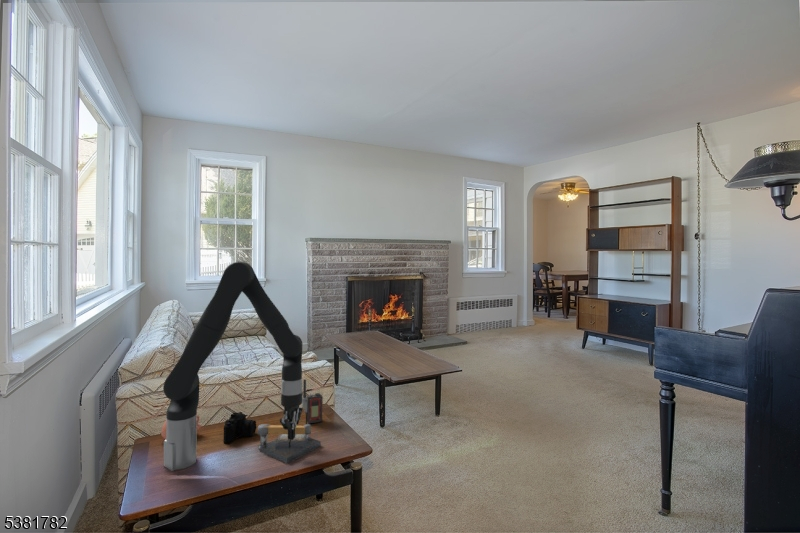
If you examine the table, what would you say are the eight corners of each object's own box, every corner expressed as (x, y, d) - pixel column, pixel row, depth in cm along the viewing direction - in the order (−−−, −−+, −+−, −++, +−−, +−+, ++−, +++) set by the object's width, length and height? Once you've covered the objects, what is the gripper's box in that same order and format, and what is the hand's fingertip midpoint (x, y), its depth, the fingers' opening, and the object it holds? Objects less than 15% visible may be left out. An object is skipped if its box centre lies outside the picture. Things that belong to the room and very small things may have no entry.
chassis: (286, 463, 139) (287, 451, 139) (260, 451, 147) (260, 440, 147) (320, 446, 152) (320, 435, 152) (294, 436, 160) (294, 426, 160)
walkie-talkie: (302, 427, 170) (302, 380, 170) (300, 423, 174) (301, 377, 174) (322, 424, 173) (323, 378, 173) (320, 420, 177) (321, 375, 177)
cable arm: (255, 435, 149) (256, 427, 149) (260, 430, 153) (260, 422, 153) (309, 435, 149) (309, 427, 149) (311, 430, 153) (311, 423, 153)
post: (262, 450, 148) (262, 437, 148) (255, 447, 150) (255, 434, 150) (271, 446, 151) (271, 433, 151) (264, 444, 154) (264, 431, 154)
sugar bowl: (165, 432, 163) (165, 407, 163) (203, 428, 168) (203, 404, 168) (157, 445, 152) (157, 418, 152) (198, 440, 156) (198, 414, 156)
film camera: (244, 445, 153) (245, 421, 153) (220, 444, 153) (220, 421, 153) (260, 429, 168) (260, 407, 168) (237, 428, 168) (237, 407, 168)
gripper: (292, 397, 137) (291, 448, 138) (309, 386, 150) (309, 432, 150) (272, 396, 139) (272, 445, 139) (291, 385, 152) (290, 430, 152)
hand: (291, 438), depth 145 cm, fingers closed
